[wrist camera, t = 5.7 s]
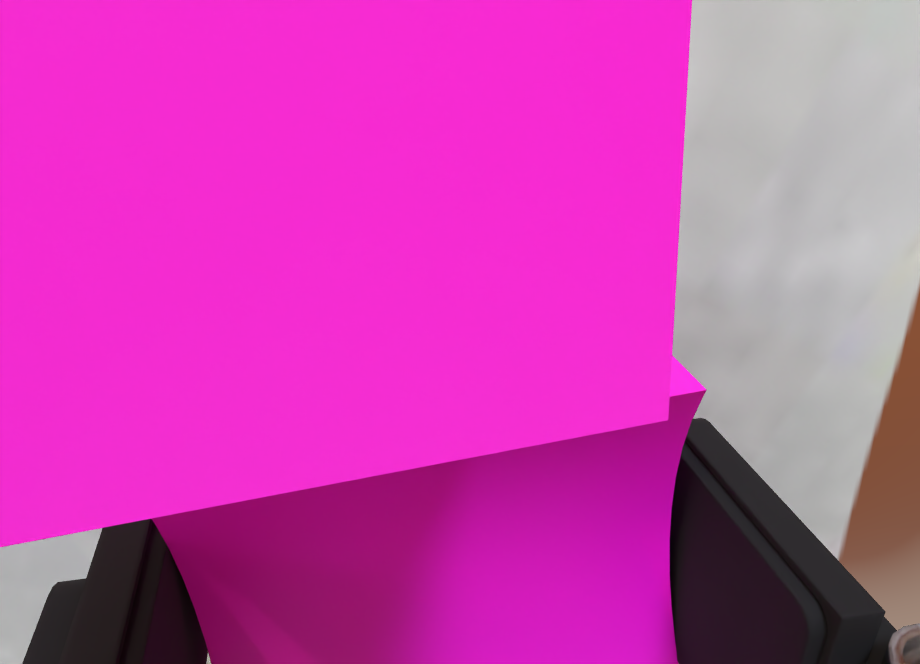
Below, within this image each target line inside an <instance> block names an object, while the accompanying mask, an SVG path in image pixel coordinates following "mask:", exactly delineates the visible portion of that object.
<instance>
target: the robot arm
mask: <svg viewBox="0 0 920 664" xmlns="http://www.w3.org/2000/svg"><path fill="white" fill-rule="evenodd" d="M670 588H671V605H672V616H673V625H674V635H675V644H676V651H677V661H678V663H679V664H920V624H914V625H908V626H904V627H902V628H901V629H899V630H898V631H897V630H896V629H895V628H894V627H893V626H892V625H891V624H890V623H889V621H888V620H887V619H886V618H885V617H884V614H885V611H884V610H883V609H882V607H881V606H880V605H879V604H878V603H877V602H876V601H875V600H874V599H873V598H872V597H871V596H870V595H869V594H868V592H867V591H866V590H865V589H864V588H863V587H862V586H861V585H860V584H859V583H858V582H857V581H856V579H855V578H854V577H853V576H852V575H851V574H850V573H849V572H848V571H847V570H846V569H845V568H844V567H843V566H842V564H841V563H840V562H839V561H838V560H837V559H836V558H835V557H834V556H833V555H832V554H831V553H830V551H829V550H828V549H827V548H826V547H825V546H824V545H823V544H822V543H821V542H820V541H819V540H818V539H817V537H816V536H815V535H814V534H813V533H812V532H811V531H810V530H809V529H808V528H807V527H806V526H805V525H804V523H803V522H802V521H801V520H800V519H799V518H798V517H797V516H796V515H795V514H794V513H793V512H792V511H791V509H790V508H789V507H788V506H787V505H786V504H785V503H784V502H783V501H782V500H781V499H780V498H779V497H778V495H777V494H776V493H775V492H774V491H773V490H772V489H771V488H770V487H769V486H768V485H767V484H766V483H765V481H764V480H763V479H762V478H761V477H760V476H759V475H758V474H757V473H756V472H755V471H754V470H753V469H752V468H751V466H750V465H749V464H748V463H747V462H746V461H745V460H744V459H743V458H742V457H741V456H740V455H739V454H738V452H737V451H736V450H735V449H734V448H733V447H732V446H731V445H730V444H729V443H728V442H727V441H726V440H725V438H724V437H723V436H722V435H721V434H720V433H719V432H718V431H717V430H716V429H715V428H714V427H713V426H712V424H711V423H710V422H708V421H707V420H706V419H703V418H698V419H692V421H691V424H690V427H689V430H688V433H687V436H686V439H685V442H684V445H683V448H682V452H681V457H680V461H679V465H678V470H677V474H676V480H675V487H674V494H673V501H672V510H671V526H670ZM207 653H208V649H207V646H206V642H205V639H204V636H203V633H202V630H201V627H200V624H199V621H198V618H197V615H196V612H195V608H194V606H193V603H192V601H191V598H190V596H189V593H188V590H187V588H186V585H185V583H184V580H183V578H182V575H181V573H180V571H179V569H178V567H177V565H176V563H175V560H174V558H173V556H172V554H171V552H170V550H169V548H168V546H167V544H166V543H165V541H164V539H163V537H162V536H161V534H160V532H159V530H158V528H157V527H156V525H155V523H154V522H153V520H152V519H146V520H141V521H135V522H130V523H125V524H120V525H114V526H109V527H104V528H103V529H102V532H101V535H100V538H99V541H98V544H97V547H96V550H95V553H94V556H93V559H92V562H91V566H90V569H89V572H88V575H87V578H86V579H80V580H71V581H63V582H58V583H57V584H55V585H54V586H53V587H52V589H51V591H50V593H49V595H48V597H47V600H46V603H45V605H44V608H43V611H42V613H41V616H40V619H39V621H38V624H37V627H36V629H35V632H34V634H33V637H32V640H31V642H30V645H29V648H28V650H27V653H26V656H25V658H24V661H23V664H206V661H207Z"/></svg>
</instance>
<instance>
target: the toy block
mask: <svg viewBox="0 0 920 664" xmlns="http://www.w3.org/2000/svg"><path fill="white" fill-rule="evenodd" d="M691 9H692V0H0V547H4V546H9V545H14V544H20V543H25V542H30V541H35V540H41V539H46V538H51V537H56V536H62V535H67V534H72V533H78V532H83V531H88V530H93V529H99V528H104V527H109V526H114V525H120V524H125V523H130V522H135V521H141V520H146V519H152V520H153V522H154V523H155V525H156V527H157V528H158V530H159V532H160V534H161V536H162V537H163V539H164V541H165V543H166V544H167V546H168V548H169V550H170V552H171V554H172V556H173V558H174V560H175V563H176V565H177V567H178V569H179V571H180V573H181V575H182V578H183V580H184V583H185V585H186V588H187V590H188V593H189V596H190V598H191V601H192V603H193V606H194V608H195V612H196V615H197V618H198V621H199V624H200V627H201V630H202V633H203V636H204V639H205V642H206V646H207V649H208V653H209V656H210V660H211V664H678V661H677V651H676V644H675V635H674V625H673V616H672V605H671V588H670V526H671V510H672V501H673V494H674V487H675V480H676V474H677V470H678V465H679V461H680V457H681V452H682V448H683V445H684V442H685V439H686V436H687V433H688V430H689V427H690V424H691V421H692V419H693V417H694V415H695V413H696V410H697V408H698V406H699V404H700V402H701V400H702V398H703V396H704V394H705V392H706V389H705V388H704V387H703V386H702V385H701V384H700V383H699V382H698V381H697V380H696V379H695V378H694V377H693V376H692V375H691V374H690V373H689V372H688V371H687V370H686V369H685V368H684V367H683V366H682V365H681V364H680V363H679V362H678V361H677V360H676V359H675V358H674V357H673V356H672V346H673V328H674V310H675V292H676V275H677V257H678V239H679V221H680V204H681V186H682V168H683V150H684V133H685V115H686V97H687V80H688V62H689V44H690V26H691Z"/></svg>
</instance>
